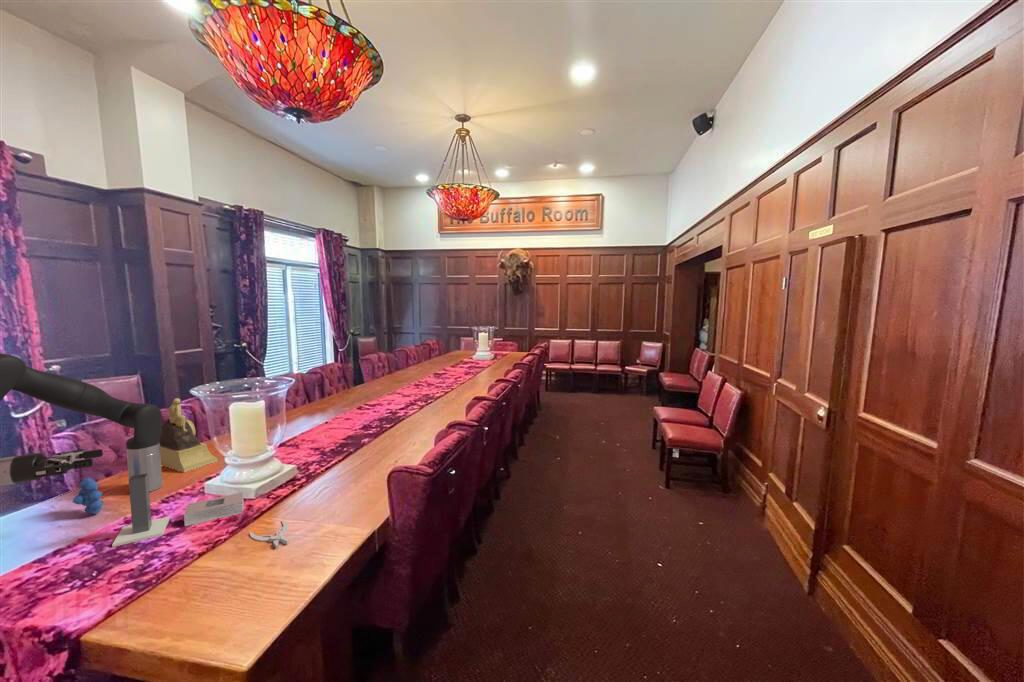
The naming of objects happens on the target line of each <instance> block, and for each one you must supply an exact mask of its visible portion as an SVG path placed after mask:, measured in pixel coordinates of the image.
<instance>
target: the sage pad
mask: <svg viewBox="0 0 1024 682" xmlns="http://www.w3.org/2000/svg"><path fill="white" fill-rule="evenodd" d="M169 522H170V516H165V517H161V518H156V519H151V523H152V525H151V527H150V529H149V531H145V532H141V533H136V534H133V530H132V524H128V525H125V526H122V528H121V529H120V531H119V532H118V535H117V536H116V538H115V539H114V541H113V542H112V545H111V546H112V548H113V547H114V548H115V547H119V546H123V545H127V544H132V543H135V542H136V543H137V542H140V541H143V540H148V539H151V538H157V537H160V536H161V537H162V536H164V533H165V531H166V529H167V527H168V524H169Z"/></svg>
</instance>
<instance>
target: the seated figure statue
mask: <svg viewBox="0 0 1024 682" xmlns="http://www.w3.org/2000/svg"><path fill="white" fill-rule="evenodd" d="M181 401H182V400H181V399H180V398H179V397H178V398H177V397H176V398H174V399H173V401H172V404H171V405H170V406H169V410H168V416H169V417H168V418H167V420H165V421H164V422H162V434H161V437H160V452H161V465H163V466H166V467H170V468H173V469H175V470H174V471H176V470H179V471H182V472H181V473H183V472H186V473H188V472H187V471H189V472H191V471H190V470H192V471H194V470H193V469H195V470H197V469H196V468H198V469H200V468H199V467H201V468H203V467H202V466H204V467H206V466H205V465H207V464H210V463H213V464H215V463H214V462H216V463H218V462H217V461H219V460H218V459H219V458H218V457H216V456H214V455H213V454H211V452H210V451H209V448H208V443H204V442H201V441H200V439H199V437H197V436H196V427H195V424H194V423H193V421H192V420H190V419H186V416H185V415H184V414H182V406H181ZM210 465H211V464H210ZM163 466H162V467H163ZM207 466H208V465H207ZM166 467H165V468H166ZM170 468H169V469H170ZM173 469H172V470H173ZM179 471H178V472H179Z"/></svg>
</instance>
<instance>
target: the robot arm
mask: <svg viewBox="0 0 1024 682" xmlns="http://www.w3.org/2000/svg"><path fill="white" fill-rule="evenodd" d="M11 390H12V391H16V392H19V393H22V394H25V395H27V396H30V397H32V398H34V399H37V400H39V401H42V402H45V403H47V404H50V405H52V406H53V405H54V406H56V407H60V408H61V409H62V408H63V409H65V410H69V411H72V412H77V413H80V414H84V415H85V414H86V415H91V416H96V417H101V418H104V419H107V420H109V421H111V422H114V423H116V424H119V425H120V426H122V427H125V428H131V429H133V437H131V438H129V439H127V440H126V442H125V446H126V447H125V448H126V459H127V475H128V480H129V479H130V478H131V477H132V476H135V475H141V474H147V473H148V482H149V493H150V492H153V491H156V490H158V489H160V488H162V487H163V485H164V483H163V470H162V469H163V466H161V452H160V437H161V434H162V425H163V413H162V411H161V408H160V407H159V406H157V405H156V404H151V403H139V402H138V403H137V402H132V401H127V400H126V401H125V400H122V399H119V398H115V397H113V396H112V395H110V394H109V393H107V392H106V391H105V390H104V389H102V388H100V387H98V386H96V385H93V384H90V383H87V382H84V381H81V380H78V379H75V378H71V377H68V376H65V375H64V376H63V375H60V374H55V373H51V372H48V371H42V370H38V369H36V368H33V367H30V366H27V365H26V363H25V361H24V360H23V359H22V358H19V357H17V356H15V355H10V354H8V353H7V354H6V353H1V352H0V402H1V401H3V399H4V398H5V396H7V394H9V393H10V391H11ZM103 455H104V452H103V449H102V448H101V449H100V448H99V449H92V450H85V449H84V448H81V449H75V450H71V451H70V450H69V451H63V452H56V453H54V455H52V456H51V457H47V458H46V457H45V456H44V455H43V454H42V453H40V452H35V453H29V454H23V455H15V456H9V457H2V458H1V457H0V487H1V486H3V487H4V486H8V485H14V484H20V483H26V482H34V481H37V480H38V481H39V480H40V479H42V478H44V477H51V476H58V475H64V474H67V473H68V472H72V471H74V469H75V470H76V469H83V468H89V467H90V468H91V467H92V466H93V465H94V460H93V458H101V457H102V456H103Z"/></svg>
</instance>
